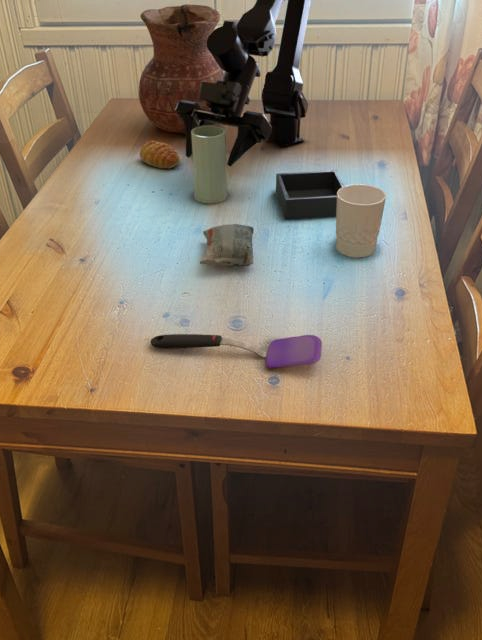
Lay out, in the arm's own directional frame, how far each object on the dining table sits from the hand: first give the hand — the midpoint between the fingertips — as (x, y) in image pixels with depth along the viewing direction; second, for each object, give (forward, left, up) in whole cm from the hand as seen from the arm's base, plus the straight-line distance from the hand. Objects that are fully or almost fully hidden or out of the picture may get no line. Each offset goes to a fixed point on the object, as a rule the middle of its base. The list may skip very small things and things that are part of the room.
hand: (207, 161), depth 131 cm
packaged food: (+10, +22, -8) cm, 25 cm away
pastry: (-1, -21, -8) cm, 23 cm away
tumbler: (0, 0, -7) cm, 7 cm away
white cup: (-10, +32, -8) cm, 34 cm away
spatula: (+23, +44, -8) cm, 51 cm away
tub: (-14, +14, -7) cm, 21 cm away
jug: (-17, -38, -8) cm, 42 cm away
